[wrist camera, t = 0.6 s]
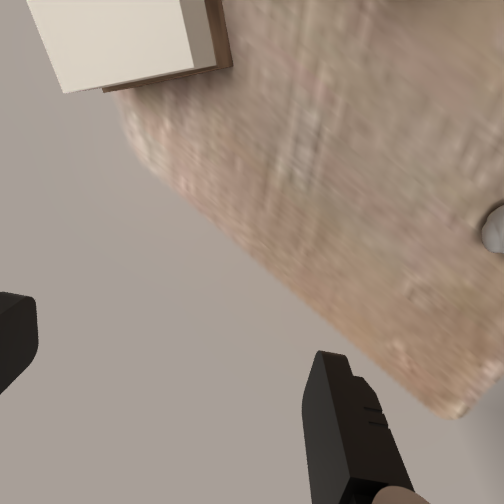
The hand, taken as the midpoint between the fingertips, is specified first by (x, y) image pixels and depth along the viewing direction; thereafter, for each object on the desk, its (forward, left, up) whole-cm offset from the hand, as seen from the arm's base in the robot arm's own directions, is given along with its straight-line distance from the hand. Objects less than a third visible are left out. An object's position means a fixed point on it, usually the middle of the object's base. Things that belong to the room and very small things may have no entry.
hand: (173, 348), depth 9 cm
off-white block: (-12, -8, -23) cm, 27 cm away
